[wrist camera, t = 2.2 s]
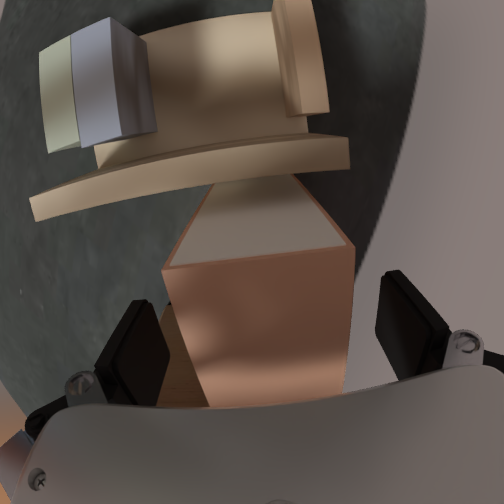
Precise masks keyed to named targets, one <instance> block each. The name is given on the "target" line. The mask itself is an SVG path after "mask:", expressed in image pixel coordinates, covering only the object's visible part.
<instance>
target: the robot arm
mask: <svg viewBox="0 0 504 504" xmlns="http://www.w3.org/2000/svg"><path fill="white" fill-rule="evenodd" d="M375 334H376V337H377V339H378V341H379V342H380V344H381V346H382V348H383V350H384V352H385V354H386V356H387V358H388V360H389V362H390V364H391V366H392V368H393V370H394V372H395V374H396V376H397V378H398V380H399V381H396V382H392V383H388V384H384V385H380V386H375V387H371V388H366V389H362V390H358V391H352V392H347V393H342V394H337V395H331V396H325V397H319V398H312V399H306V400H298V401H290V402H282V403H272V404H261V405H248V406H230V407H158V406H156V404H157V401H158V397H159V394H160V391H161V387H162V384H163V381H164V377H165V374H166V371H167V367H168V364H169V361H170V351H169V348H168V346H167V343H166V341H165V338H164V335H163V333H162V330H161V327H160V325H159V322H158V319H157V316H156V314H155V311H154V308H153V305H152V303H148V301H147V300H146V299H144V300H133V301H132V302H131V304H130V305H129V307H128V309H127V310H126V312H125V314H124V315H123V317H122V319H121V320H120V322H119V323H118V325H117V327H116V329H115V330H114V332H113V334H112V335H111V337H110V339H109V340H108V342H107V344H106V346H105V347H104V349H103V351H102V353H101V354H100V356H99V358H98V360H97V362H96V363H95V365H94V366H95V368H96V369H95V370H94V372H91V371H81V372H78V373H76V374H74V375H72V376H71V377H70V378H69V379H68V381H67V382H66V384H65V395H64V396H63V397H61V398H59V399H57V400H55V401H53V402H51V403H49V404H47V405H45V406H43V407H41V408H39V409H37V410H35V411H34V412H32V413H31V414H30V415H29V416H28V418H27V420H26V422H25V431H22V429H21V430H20V431H18V432H17V433H16V434H15V435H14V436H12V437H11V438H10V439H9V440H8V441H7V442H6V443H4V444H3V445H2V446H1V447H0V482H1V484H2V486H3V488H4V490H5V491H6V493H7V495H8V497H9V498H10V500H11V504H504V355H500V354H497V353H493V352H490V351H486V350H484V343H483V340H482V338H481V337H480V336H479V335H478V334H476V333H475V332H472V331H470V330H464V329H463V330H457V331H455V332H453V333H452V332H451V331H450V329H449V326H448V325H447V323H446V322H445V321H444V320H443V318H442V317H441V316H440V315H439V314H438V312H437V311H436V310H435V309H434V308H433V307H432V305H431V304H430V303H429V302H428V301H427V300H426V298H425V297H424V296H423V295H422V294H421V293H420V292H419V291H418V289H417V288H416V287H415V286H414V285H413V284H412V283H411V282H410V281H409V280H408V278H407V277H406V276H405V275H404V274H403V273H402V272H401V271H400V270H393V271H387V272H386V273H385V275H384V276H382V277H381V285H380V294H379V303H378V311H377V318H376V326H375Z"/></svg>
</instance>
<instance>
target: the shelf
mask: <svg viewBox="0 0 504 504" xmlns="http://www.w3.org/2000/svg"><path fill="white" fill-rule="evenodd" d="M39 71H40V91H41V103H42V113H43V122H44V129H45V136H46V142H47V148H48V153H51V152H55V151H60V150H64V149H68V148H73V147H78V146H82V148H85V147H90V146H94V149H95V154H96V159H97V164H98V170H95V171H92V172H90V173H87V174H85V175H82V176H79V177H77V178H74V179H72V180H69V181H67V182H65V183H62V184H60V185H58V186H55V187H53V188H51V189H48V190H46V191H44V192H42V193H39V194H37V195H35V196H33V197H31V198H29V199H30V203H31V206H32V210H33V214H34V217H35V221H36V222H37V221H41V220H44V219H48V218H51V217H55V216H59V215H62V214H66V213H70V212H74V211H78V210H82V209H86V208H90V207H94V206H98V205H103V204H107V203H112V202H116V201H121V200H125V199H130V198H135V197H140V196H145V195H150V194H155V193H160V192H165V191H171V190H177V189H182V188H188V187H194V186H200V185H207V184H213V183H220V182H227V181H234V180H241V179H249V178H257V177H266V176H274V175H284V174H294V173H304V172H316V171H329V170H343V169H350V157H349V142H348V138H347V137H340V136H333V135H325V134H316V133H308V125H307V117H306V116H310V115H316V114H322V113H328V112H330V110H329V102H328V94H327V86H326V79H325V72H324V65H323V59H322V53H321V47H320V41H319V36H318V31H317V26H316V21H315V16H314V11H313V6H312V2H311V0H274V1H273V6H272V11H271V12H258V13H248V14H239V15H231V16H224V17H217V18H211V19H206V20H200V21H195V22H191V23H186V24H182V25H177V26H173V27H169V28H166V29H162V30H158V31H155V32H151V33H148V34H145V35H142V36H137V35H136V34H134V33H133V32H132V31H130V30H129V29H127V28H126V27H124V26H123V25H121V24H120V23H118V22H117V21H115V20H114V19H112V18H111V17H108V18H106V19H104V20H101V21H99V22H97V23H94V24H92V25H90V26H88V27H86V28H84V29H81V30H79V31H77V32H75V33H73V34H71V35H70V36H68V37H66V38H64V39H62V40H60V41H58V42H57V43H55V44H53V45H51V46H50V47H48V48H46V49H44V50H43V51H41V52H40V53H39Z"/></svg>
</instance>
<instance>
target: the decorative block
mask: <svg viewBox="0 0 504 504" xmlns="http://www.w3.org/2000/svg"><path fill="white" fill-rule="evenodd" d="M159 325H160V327H161V330H162V333H163V335H164V338H165V341H166V343H167V346H168V348H169V351H170V361H169V364H168V367H167V371H166V374H165V377H164V381H163V384H162V387H161V391H160V394H159V397H158V401H157V404H156V406H158V407H210V405H209V403H208V401H207V398H206V396H205V394H204V391H203V389H202V386H201V384H200V381H199V379H198V376H197V374H196V371H195V369H194V366H193V364H192V361H191V358H190V356H189V353H188V350H187V348H186V345H185V342H184V339H183V337H182V334H181V331H180V328H179V325H178V322H177V319H176V316H175V313H174V310H173V307H172V305H166V307H165V308H164V310H163V312H162V315H161V317H160V319H159Z"/></svg>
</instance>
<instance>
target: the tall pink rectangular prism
mask: <svg viewBox="0 0 504 504" xmlns="http://www.w3.org/2000/svg"><path fill="white" fill-rule="evenodd" d="M161 272H162V275H163V279H164V282H165V285H166V288H167V292H168V295H169V298H170V301H171V304H172V307H173V310H174V313H175V316H176V319H177V322H178V325H179V328H180V331H181V334H182V337H183V339H184V342H185V345H186V348H187V350H188V353H189V356H190V358H191V361H192V364H193V366H194V369H195V371H196V374H197V376H198V379H199V381H200V384H201V386H202V389H203V391H204V394H205V396H206V398H207V401H208V403H209V405H210V407H230V406H248V405H261V404H272V403H282V402H290V401H298V400H306V399H312V398H319V397H325V396H331V395H337V394H342V390H343V384H344V377H345V370H346V362H347V355H348V346H349V336H350V327H351V317H352V304H353V291H354V273H355V246H354V245H353V244H352V243H351V241H350V240H349V239H348V238H347V236H346V235H345V234H344V233H343V231H342V230H341V229H340V228H339V227H338V225H337V224H336V223H335V222H334V220H333V219H332V218H331V217H330V216H329V214H328V213H327V212H326V211H325V210H324V209H323V207H322V206H321V205H320V204H319V203H318V202H317V200H316V199H315V198H314V197H313V196H312V195H311V194H310V192H309V191H308V190H307V189H306V188H305V187H304V186H303V185H302V183H301V182H300V181H299V180H298V179H297V178H296V177H295V176H294V175H293V174H284V175H274V176H266V177H257V178H249V179H241V180H234V181H227V182H220V183H213V184H212V186H211V187H210V189H209V190H208V192H207V194H206V195H205V197H204V198H203V200H202V202H201V203H200V205H199V206H198V208H197V210H196V211H195V213H194V215H193V216H192V218H191V220H190V221H189V223H188V225H187V226H186V228H185V230H184V231H183V233H182V235H181V237H180V238H179V240H178V242H177V243H176V245H175V247H174V249H173V250H172V252H171V254H170V256H169V257H168V259H167V261H166V263H165V265H164V266H163V268H162V270H161Z"/></svg>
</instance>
